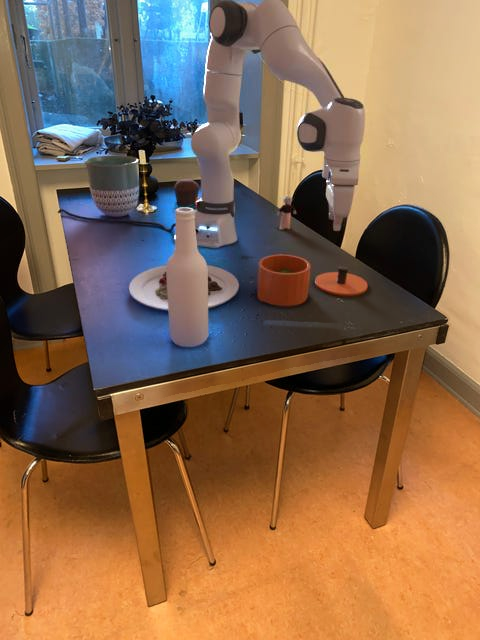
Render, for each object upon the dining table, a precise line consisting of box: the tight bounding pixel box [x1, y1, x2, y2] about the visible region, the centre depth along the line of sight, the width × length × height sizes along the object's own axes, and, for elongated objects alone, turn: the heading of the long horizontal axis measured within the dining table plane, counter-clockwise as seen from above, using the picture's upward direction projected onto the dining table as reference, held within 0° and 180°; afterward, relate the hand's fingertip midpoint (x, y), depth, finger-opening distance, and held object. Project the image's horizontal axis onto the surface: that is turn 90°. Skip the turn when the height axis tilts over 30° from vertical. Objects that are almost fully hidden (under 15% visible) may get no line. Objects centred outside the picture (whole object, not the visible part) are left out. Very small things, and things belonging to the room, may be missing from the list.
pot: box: [256, 254, 311, 307], centre depth 125 cm, size 14×14×10 cm
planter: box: [84, 155, 140, 218], centre depth 184 cm, size 20×20×21 cm
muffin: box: [172, 178, 201, 206], centre depth 205 cm, size 12×11×10 cm
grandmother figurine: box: [276, 194, 297, 231], centre depth 176 cm, size 8×4×13 cm, turn 117°
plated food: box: [128, 264, 240, 311], centre depth 128 cm, size 30×30×3 cm
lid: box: [314, 265, 369, 297], centre depth 132 cm, size 15×15×6 cm
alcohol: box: [166, 206, 209, 348], centre depth 100 cm, size 9×9×30 cm
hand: (334, 224), depth 123 cm, fingers open, 8 cm apart
